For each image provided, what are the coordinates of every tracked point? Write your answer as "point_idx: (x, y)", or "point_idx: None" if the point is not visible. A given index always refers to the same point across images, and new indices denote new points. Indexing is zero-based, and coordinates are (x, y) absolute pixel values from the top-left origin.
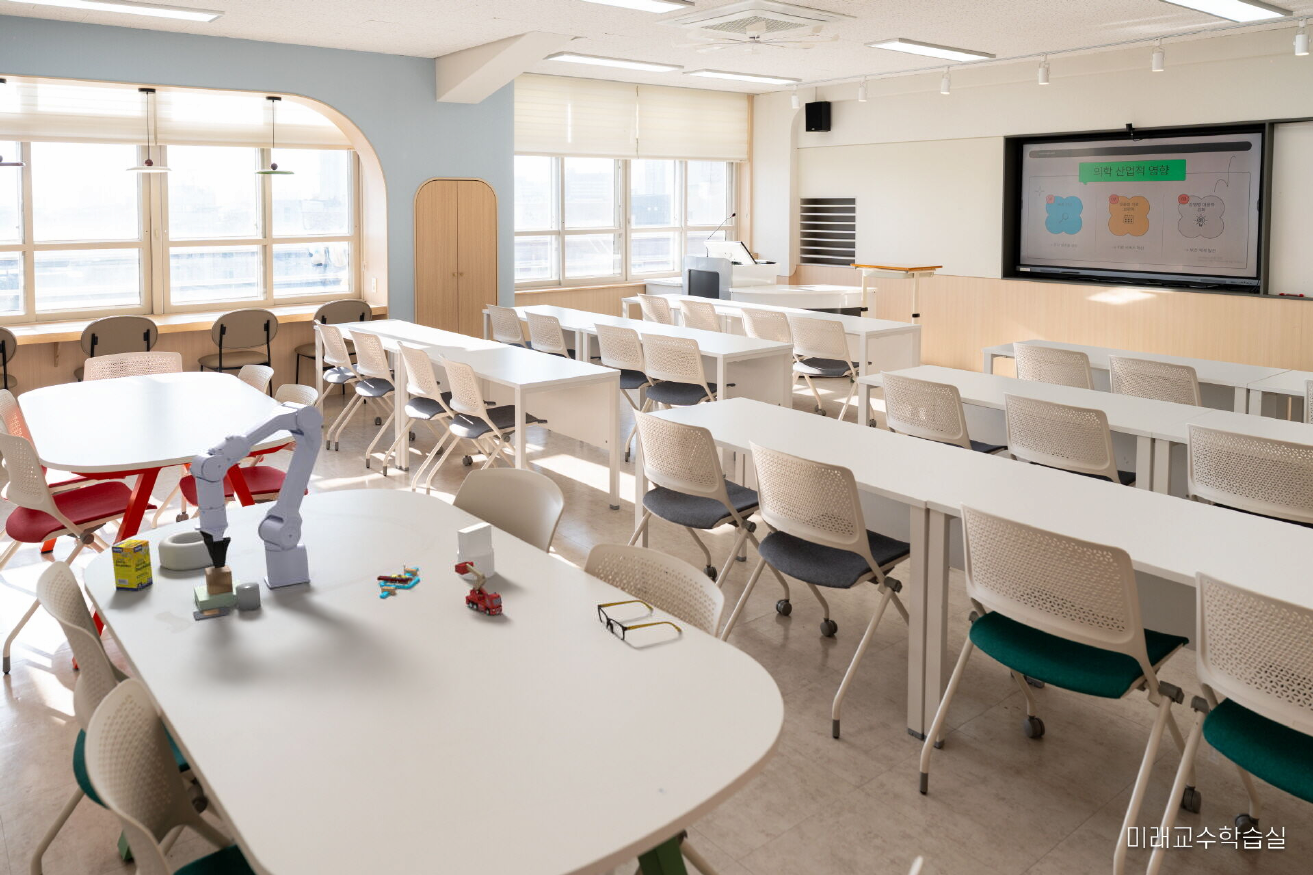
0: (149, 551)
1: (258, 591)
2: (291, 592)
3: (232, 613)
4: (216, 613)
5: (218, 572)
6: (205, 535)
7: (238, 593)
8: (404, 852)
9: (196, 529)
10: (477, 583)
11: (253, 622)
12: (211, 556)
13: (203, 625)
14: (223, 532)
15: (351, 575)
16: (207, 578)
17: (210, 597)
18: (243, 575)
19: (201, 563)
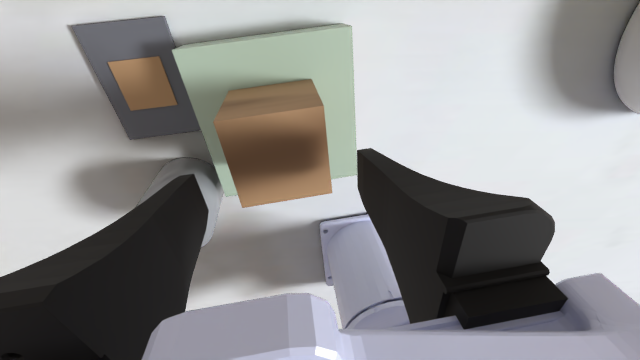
0: None
1: None
2: (274, 258)
3: (142, 145)
4: (127, 102)
5: (235, 164)
6: (422, 226)
7: (145, 195)
8: None
9: (150, 349)
10: None
11: (57, 198)
12: (126, 214)
13: (18, 55)
14: (408, 317)
15: None
16: (253, 105)
17: (208, 92)
18: (457, 164)
19: (629, 52)
